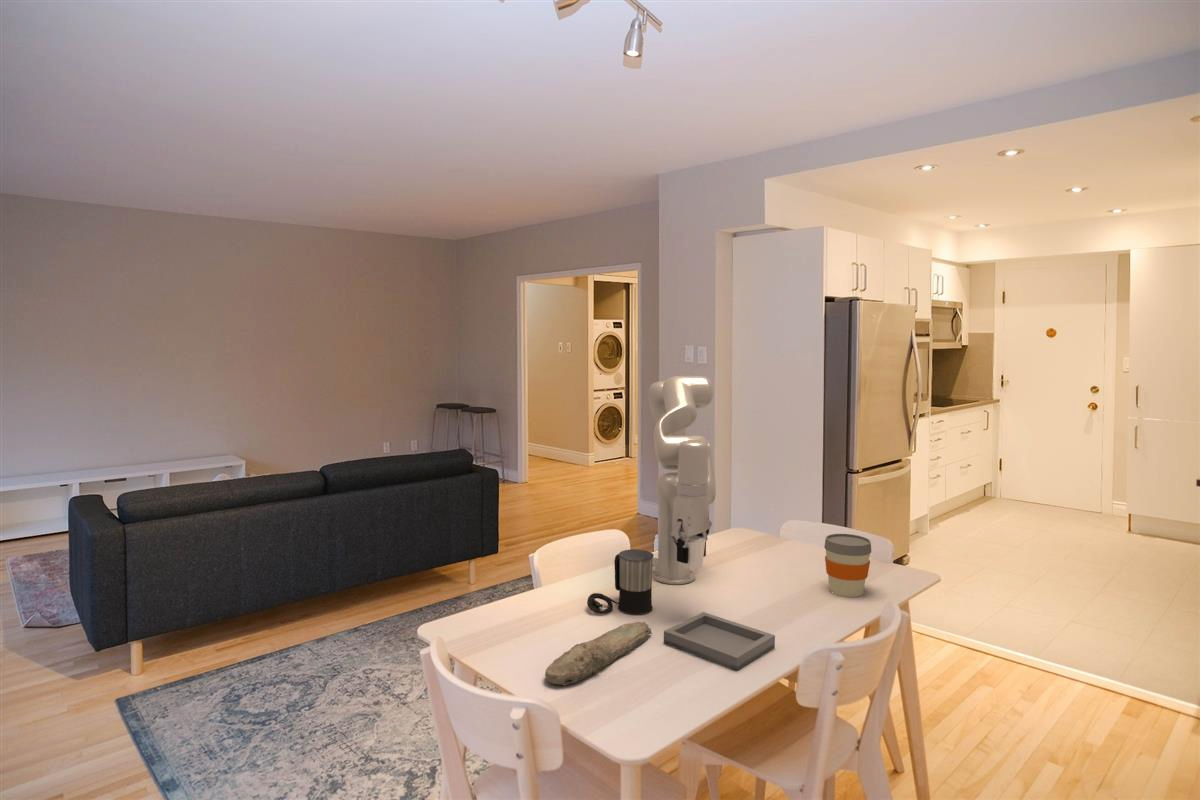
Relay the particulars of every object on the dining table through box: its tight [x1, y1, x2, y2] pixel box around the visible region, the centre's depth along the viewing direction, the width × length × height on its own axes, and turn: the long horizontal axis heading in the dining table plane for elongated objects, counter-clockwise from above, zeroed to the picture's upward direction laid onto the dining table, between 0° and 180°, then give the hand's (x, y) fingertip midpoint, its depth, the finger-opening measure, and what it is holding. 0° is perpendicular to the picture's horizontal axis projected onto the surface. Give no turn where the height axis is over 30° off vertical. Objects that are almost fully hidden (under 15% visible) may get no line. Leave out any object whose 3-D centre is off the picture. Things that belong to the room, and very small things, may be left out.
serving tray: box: [663, 611, 776, 672], centre depth 165 cm, size 20×16×3 cm
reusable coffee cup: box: [824, 533, 872, 598], centre depth 201 cm, size 12×13×15 cm
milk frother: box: [586, 548, 655, 616], centre depth 186 cm, size 14×16×15 cm
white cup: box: [680, 535, 705, 570], centre depth 180 cm, size 7×7×7 cm
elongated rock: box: [544, 621, 652, 686], centre depth 159 cm, size 35×5×10 cm
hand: (691, 558), depth 180 cm, fingers closed on white cup, 6 cm apart
